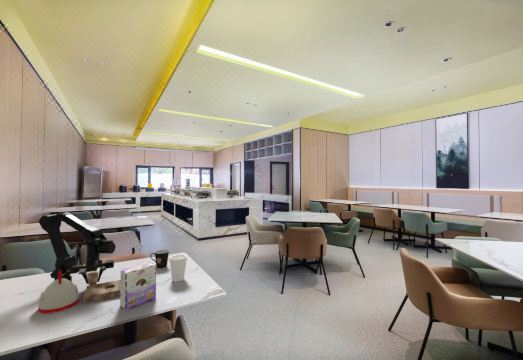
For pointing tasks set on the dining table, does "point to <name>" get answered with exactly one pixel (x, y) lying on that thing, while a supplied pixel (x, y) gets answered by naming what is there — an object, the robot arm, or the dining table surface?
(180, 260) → the foam cup
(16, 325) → the dining table surface
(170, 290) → the dining table surface
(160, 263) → the coffee mug
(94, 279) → the peg
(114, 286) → the board
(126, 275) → the candy box
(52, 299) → the kitchen timer
